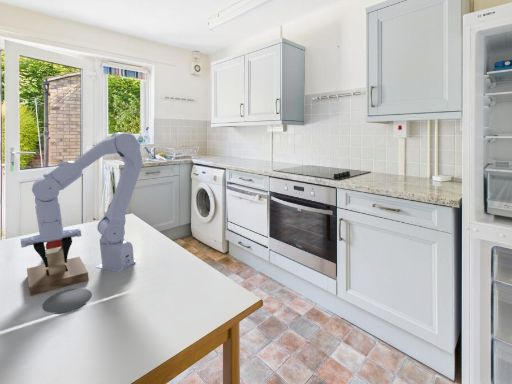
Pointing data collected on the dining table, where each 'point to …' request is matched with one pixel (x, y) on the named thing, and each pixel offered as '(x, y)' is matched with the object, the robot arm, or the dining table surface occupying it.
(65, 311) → the coaster
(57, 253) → the peg
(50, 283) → the pocket block
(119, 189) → the robot arm
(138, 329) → the dining table surface
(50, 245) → the red rounded piece
